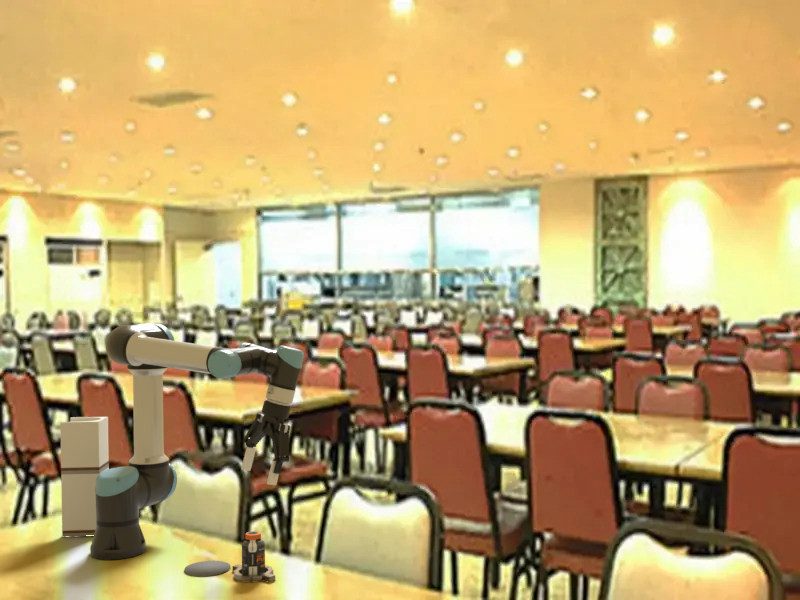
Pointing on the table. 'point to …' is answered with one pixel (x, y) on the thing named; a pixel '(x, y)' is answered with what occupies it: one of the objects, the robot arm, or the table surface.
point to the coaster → (207, 568)
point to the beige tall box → (82, 471)
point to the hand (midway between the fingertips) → (258, 477)
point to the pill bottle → (253, 554)
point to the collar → (250, 578)
